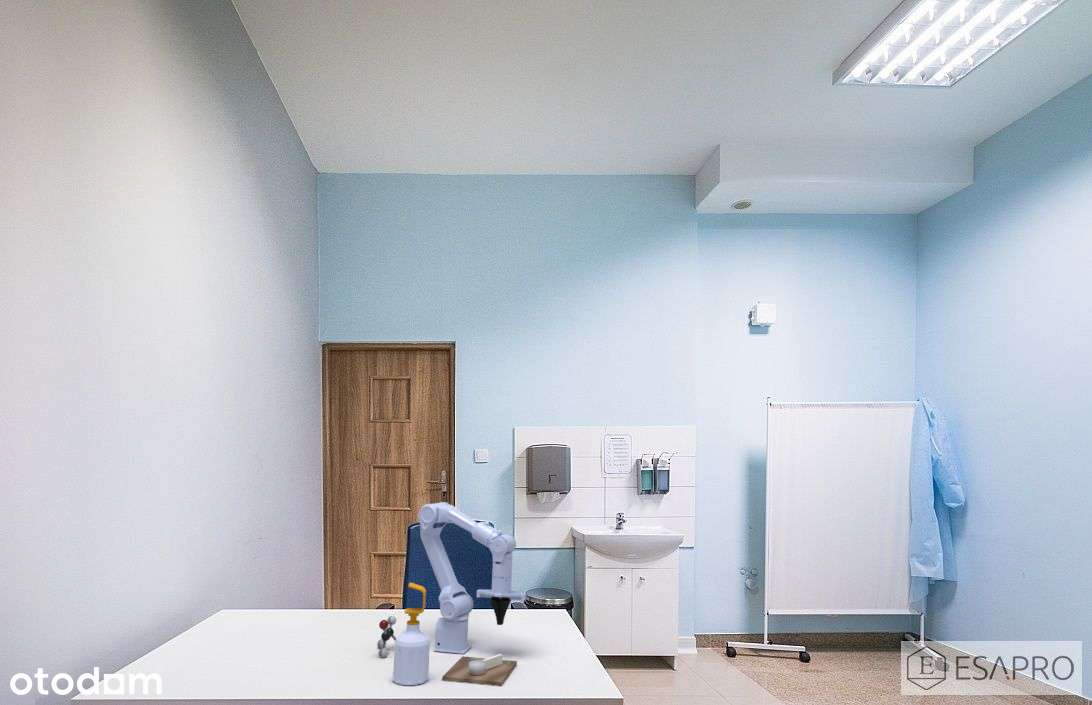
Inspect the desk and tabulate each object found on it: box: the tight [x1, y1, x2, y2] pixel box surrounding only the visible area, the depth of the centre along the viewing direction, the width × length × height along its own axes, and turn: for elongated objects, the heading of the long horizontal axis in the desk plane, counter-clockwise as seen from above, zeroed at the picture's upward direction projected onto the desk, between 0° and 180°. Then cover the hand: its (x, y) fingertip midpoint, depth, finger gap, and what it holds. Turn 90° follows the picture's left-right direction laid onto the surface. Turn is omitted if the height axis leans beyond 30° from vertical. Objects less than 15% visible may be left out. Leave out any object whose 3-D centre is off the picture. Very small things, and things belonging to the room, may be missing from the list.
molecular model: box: [376, 615, 397, 659], centre depth 214 cm, size 8×12×11 cm
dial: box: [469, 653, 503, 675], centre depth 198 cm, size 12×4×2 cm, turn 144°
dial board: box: [441, 655, 518, 687], centre depth 199 cm, size 16×18×1 cm
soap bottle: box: [392, 582, 431, 686], centre depth 192 cm, size 9×9×25 cm
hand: (500, 624), depth 213 cm, fingers closed
